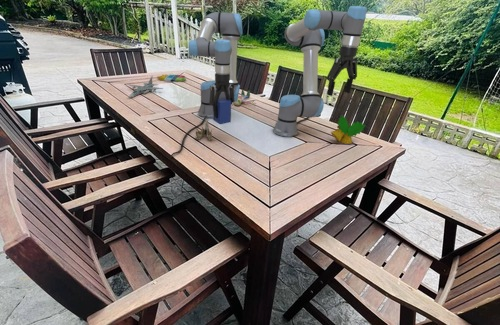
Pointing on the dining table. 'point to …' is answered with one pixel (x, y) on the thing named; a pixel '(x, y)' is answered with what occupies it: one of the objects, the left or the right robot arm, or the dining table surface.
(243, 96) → the toy
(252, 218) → the dining table surface
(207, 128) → the jawbone
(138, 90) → the airplane
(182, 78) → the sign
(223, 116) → the brick
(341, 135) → the ornament
